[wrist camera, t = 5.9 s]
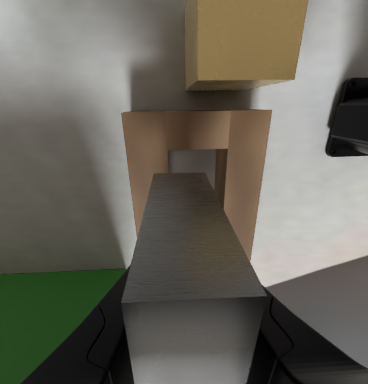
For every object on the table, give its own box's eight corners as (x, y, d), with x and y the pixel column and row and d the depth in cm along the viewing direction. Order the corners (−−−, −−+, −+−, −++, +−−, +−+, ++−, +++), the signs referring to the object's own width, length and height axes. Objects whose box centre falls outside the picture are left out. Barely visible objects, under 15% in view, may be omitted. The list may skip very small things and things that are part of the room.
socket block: (249, 109, 17) (272, 110, 14) (235, 243, 23) (249, 269, 19) (131, 111, 17) (121, 112, 13) (146, 249, 22) (142, 277, 18)
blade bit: (204, 172, 10) (266, 295, 4) (200, 273, 13) (230, 450, 6) (153, 173, 10) (121, 302, 3) (159, 274, 12) (146, 458, 6)
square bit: (252, 13, 15) (318, -58, 8) (245, 89, 17) (294, 79, 10) (184, 12, 14) (198, -62, 8) (185, 90, 16) (197, 80, 10)
